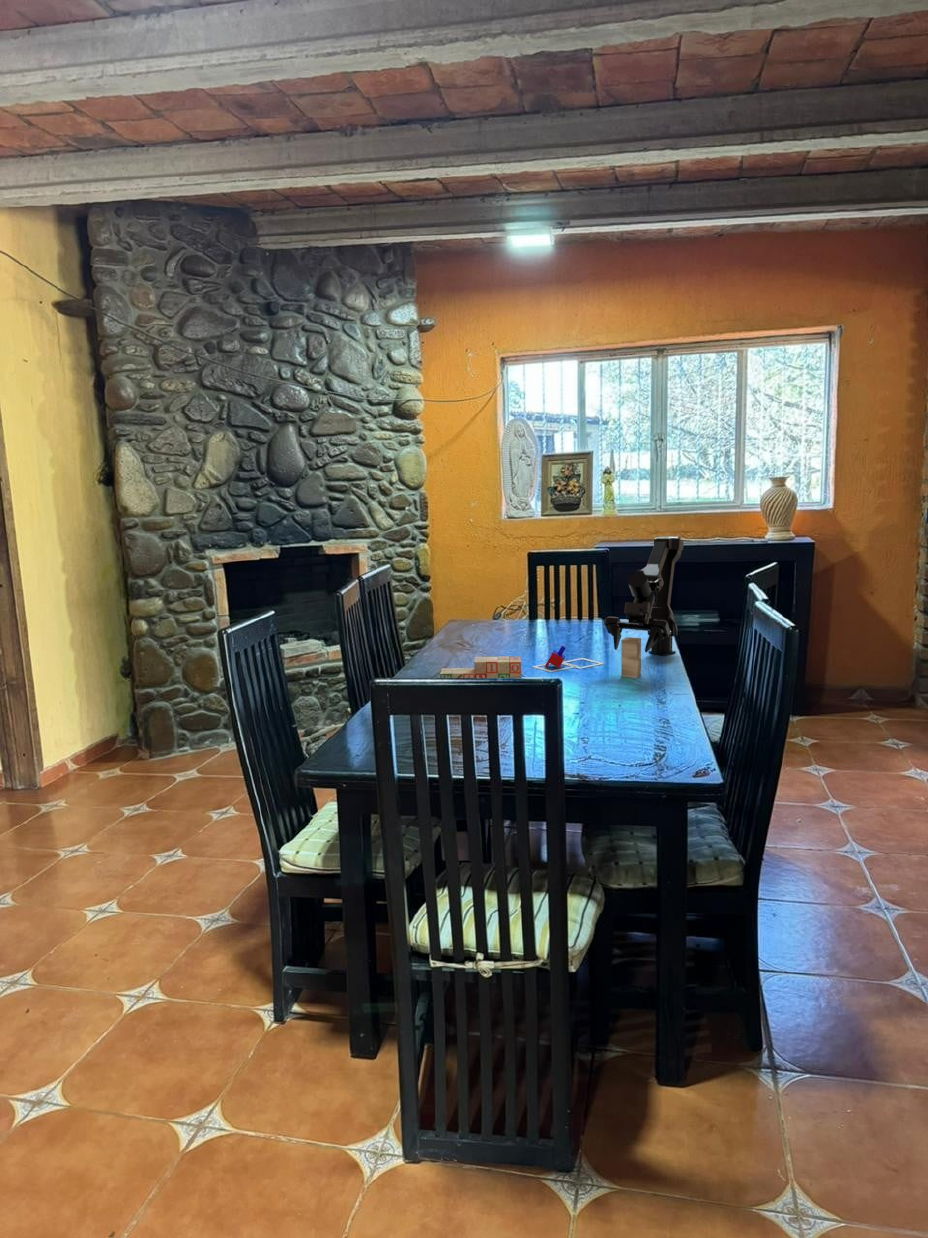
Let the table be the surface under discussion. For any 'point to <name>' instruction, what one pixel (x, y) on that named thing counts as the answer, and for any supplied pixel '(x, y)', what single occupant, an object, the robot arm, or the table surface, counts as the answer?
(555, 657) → the toy building block
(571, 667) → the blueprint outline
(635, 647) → the beech pillar
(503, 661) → the stack of blocks
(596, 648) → the table surface
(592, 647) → the table surface
